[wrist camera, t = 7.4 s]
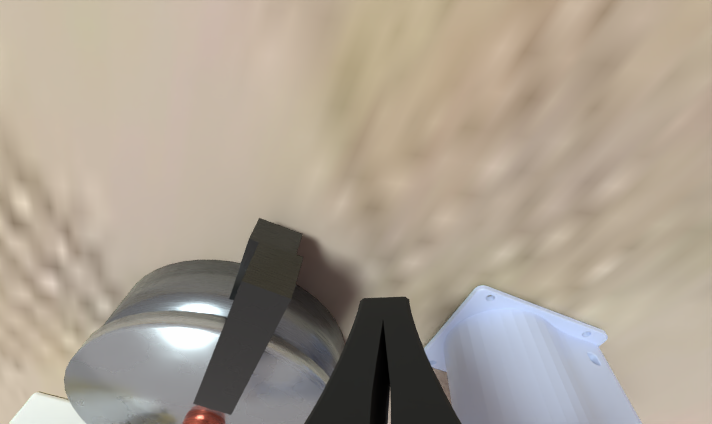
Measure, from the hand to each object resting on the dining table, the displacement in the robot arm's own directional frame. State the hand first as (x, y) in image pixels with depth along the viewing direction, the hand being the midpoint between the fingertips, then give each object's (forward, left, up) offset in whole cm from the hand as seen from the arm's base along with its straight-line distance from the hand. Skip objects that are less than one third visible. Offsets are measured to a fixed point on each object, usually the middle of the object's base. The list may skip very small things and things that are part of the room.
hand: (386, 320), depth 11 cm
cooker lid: (+4, +14, -5) cm, 16 cm away
